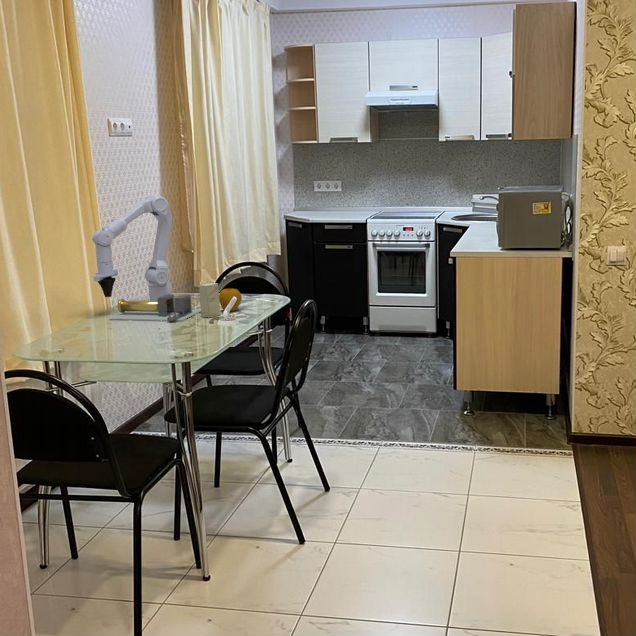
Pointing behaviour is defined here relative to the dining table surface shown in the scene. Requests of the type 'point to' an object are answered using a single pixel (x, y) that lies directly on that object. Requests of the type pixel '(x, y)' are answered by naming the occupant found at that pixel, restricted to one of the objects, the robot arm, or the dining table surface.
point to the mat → (148, 316)
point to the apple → (229, 298)
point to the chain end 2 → (181, 307)
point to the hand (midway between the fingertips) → (108, 296)
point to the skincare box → (209, 300)
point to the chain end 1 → (163, 307)
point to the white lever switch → (228, 315)
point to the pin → (139, 306)
